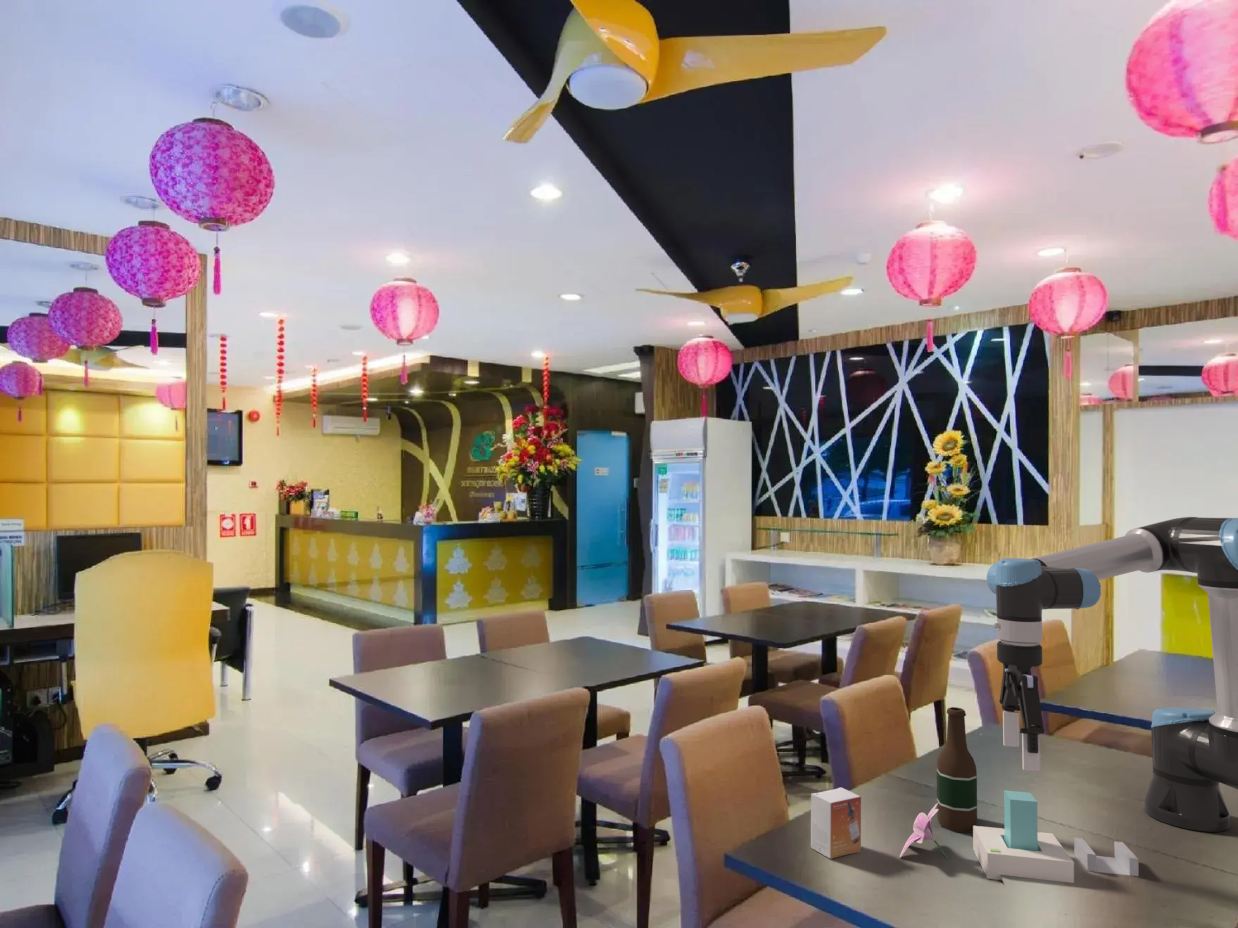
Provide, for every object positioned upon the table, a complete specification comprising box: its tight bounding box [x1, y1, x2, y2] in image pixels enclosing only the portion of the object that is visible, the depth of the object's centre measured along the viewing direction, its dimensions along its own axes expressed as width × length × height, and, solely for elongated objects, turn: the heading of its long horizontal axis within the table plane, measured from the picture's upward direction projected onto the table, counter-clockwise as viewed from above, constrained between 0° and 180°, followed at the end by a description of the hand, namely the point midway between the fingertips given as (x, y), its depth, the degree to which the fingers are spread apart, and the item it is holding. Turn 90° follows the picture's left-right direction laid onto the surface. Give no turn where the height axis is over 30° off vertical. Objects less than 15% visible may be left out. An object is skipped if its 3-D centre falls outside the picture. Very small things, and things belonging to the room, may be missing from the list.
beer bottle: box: [936, 706, 978, 834], centre depth 163 cm, size 8×8×24 cm
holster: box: [1073, 836, 1140, 877], centre depth 144 cm, size 8×7×4 cm
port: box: [972, 825, 1075, 884], centre depth 144 cm, size 14×12×5 cm
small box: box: [810, 786, 862, 859], centre depth 151 cm, size 8×6×10 cm
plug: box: [1003, 790, 1039, 851], centre depth 145 cm, size 4×4×12 cm
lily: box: [899, 802, 947, 859], centre depth 150 cm, size 12×12×10 cm
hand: (1020, 757), depth 145 cm, fingers open, 13 cm apart
